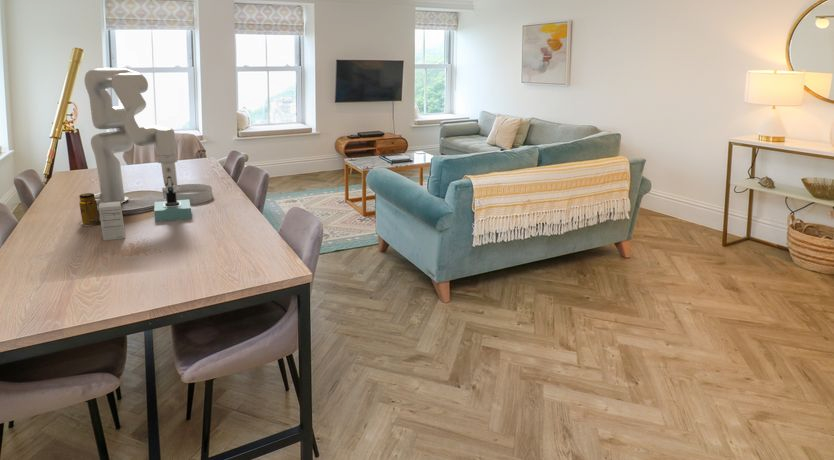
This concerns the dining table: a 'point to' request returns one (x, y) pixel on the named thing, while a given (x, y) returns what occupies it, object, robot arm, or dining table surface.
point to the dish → (193, 193)
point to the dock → (172, 211)
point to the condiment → (89, 210)
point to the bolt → (175, 195)
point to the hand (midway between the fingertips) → (171, 200)
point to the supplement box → (111, 220)
